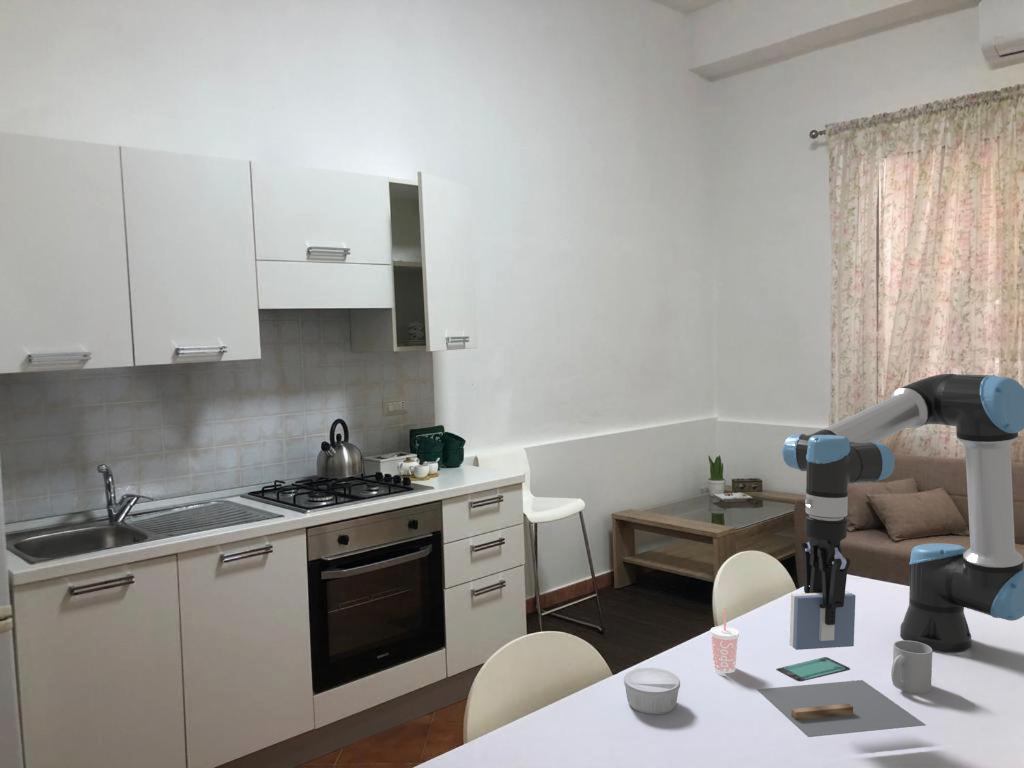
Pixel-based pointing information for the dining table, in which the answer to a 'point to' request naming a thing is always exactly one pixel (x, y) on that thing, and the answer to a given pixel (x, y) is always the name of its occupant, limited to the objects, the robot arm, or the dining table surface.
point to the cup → (912, 666)
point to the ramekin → (651, 690)
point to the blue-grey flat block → (808, 622)
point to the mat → (866, 702)
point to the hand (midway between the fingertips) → (821, 636)
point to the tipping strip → (822, 711)
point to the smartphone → (813, 669)
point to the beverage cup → (724, 648)
